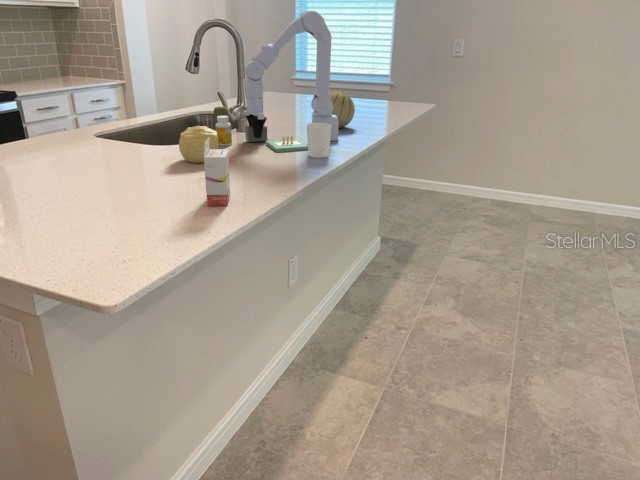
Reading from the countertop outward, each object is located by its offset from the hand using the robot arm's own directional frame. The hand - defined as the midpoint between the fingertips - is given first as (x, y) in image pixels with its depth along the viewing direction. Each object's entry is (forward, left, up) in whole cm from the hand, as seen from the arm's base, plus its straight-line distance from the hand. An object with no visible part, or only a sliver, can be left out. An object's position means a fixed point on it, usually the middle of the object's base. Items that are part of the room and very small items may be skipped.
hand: (256, 136), depth 180 cm
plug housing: (0, 0, -1) cm, 1 cm away
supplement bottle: (+12, +1, -2) cm, 12 cm away
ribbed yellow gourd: (-39, -16, -2) cm, 42 cm away
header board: (-8, +12, -2) cm, 15 cm away
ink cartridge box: (+26, +61, -2) cm, 66 cm away
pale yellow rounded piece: (+24, +21, -2) cm, 32 cm away
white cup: (-14, +27, -2) cm, 30 cm away
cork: (+10, -12, -2) cm, 16 cm away
